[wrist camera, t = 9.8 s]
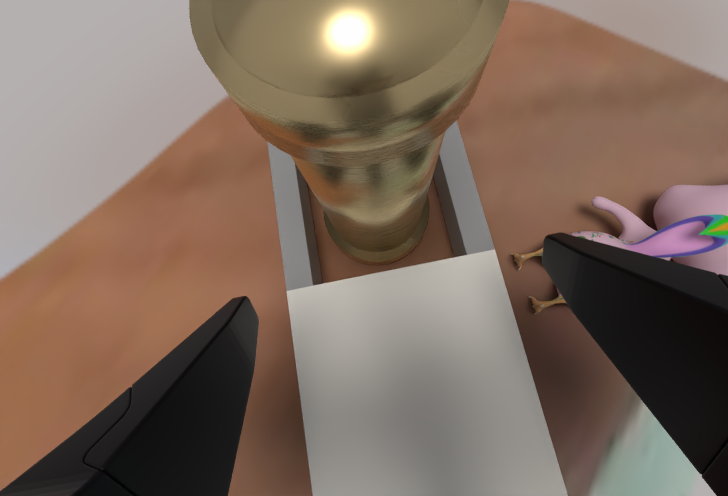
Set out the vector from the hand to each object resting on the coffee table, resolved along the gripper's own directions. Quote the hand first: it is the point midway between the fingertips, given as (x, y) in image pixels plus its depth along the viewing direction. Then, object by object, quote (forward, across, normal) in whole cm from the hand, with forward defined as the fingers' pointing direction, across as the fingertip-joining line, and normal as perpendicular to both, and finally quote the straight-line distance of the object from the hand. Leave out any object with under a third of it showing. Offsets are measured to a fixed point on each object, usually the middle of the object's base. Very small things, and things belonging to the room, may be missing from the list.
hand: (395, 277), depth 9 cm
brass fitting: (+9, 0, +2) cm, 9 cm away
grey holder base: (+5, 0, +6) cm, 8 cm away
